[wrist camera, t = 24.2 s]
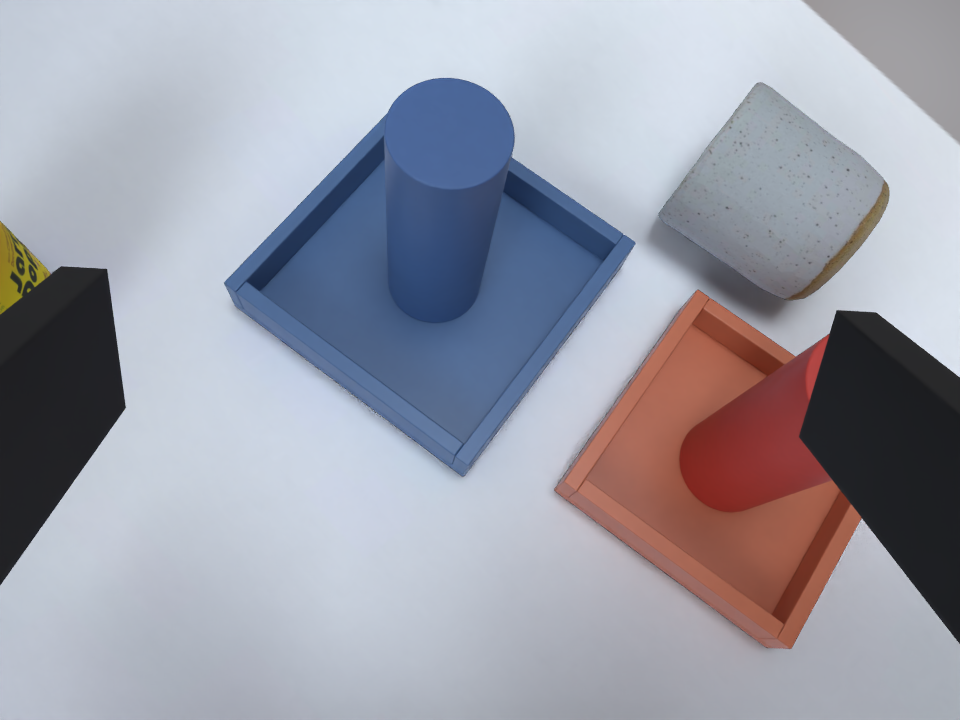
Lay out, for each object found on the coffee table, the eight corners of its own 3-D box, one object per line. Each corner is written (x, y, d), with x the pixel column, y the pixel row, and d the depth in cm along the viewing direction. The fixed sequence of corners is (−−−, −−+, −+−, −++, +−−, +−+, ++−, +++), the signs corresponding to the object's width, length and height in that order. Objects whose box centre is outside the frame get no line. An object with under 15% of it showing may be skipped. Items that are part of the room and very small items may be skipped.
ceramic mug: (775, 334, 39) (862, 264, 32) (638, 242, 40) (693, 154, 33) (864, 190, 43) (960, 98, 36) (735, 108, 44) (804, 3, 36)
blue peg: (498, 274, 38) (540, 124, 27) (443, 341, 37) (463, 213, 26) (425, 222, 39) (437, 55, 27) (369, 287, 37) (356, 138, 26)
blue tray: (621, 266, 40) (636, 242, 37) (463, 477, 35) (468, 466, 33) (410, 119, 41) (410, 87, 39) (234, 305, 37) (222, 282, 35)
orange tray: (879, 444, 38) (908, 432, 36) (766, 648, 34) (791, 649, 32) (681, 307, 39) (697, 288, 37) (553, 490, 36) (563, 481, 34)
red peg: (788, 455, 37) (960, 378, 25) (742, 532, 35) (904, 487, 24) (709, 399, 37) (844, 300, 26) (661, 473, 36) (781, 402, 25)
